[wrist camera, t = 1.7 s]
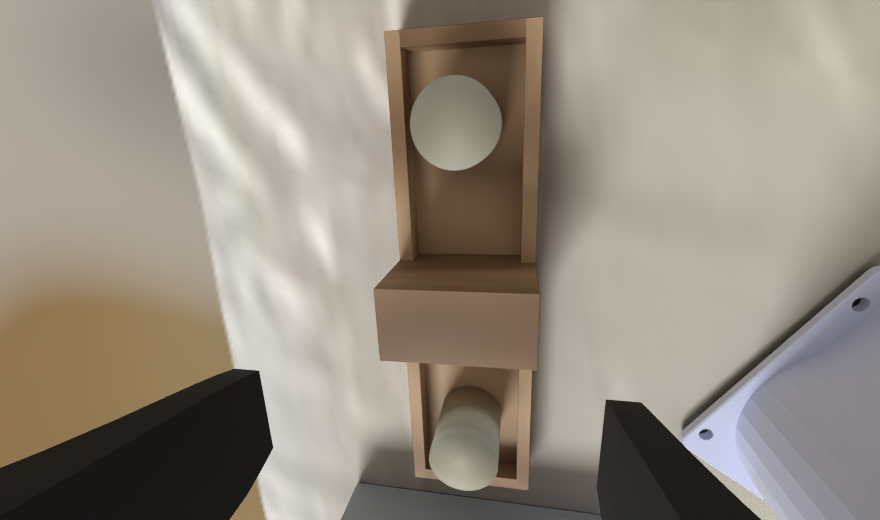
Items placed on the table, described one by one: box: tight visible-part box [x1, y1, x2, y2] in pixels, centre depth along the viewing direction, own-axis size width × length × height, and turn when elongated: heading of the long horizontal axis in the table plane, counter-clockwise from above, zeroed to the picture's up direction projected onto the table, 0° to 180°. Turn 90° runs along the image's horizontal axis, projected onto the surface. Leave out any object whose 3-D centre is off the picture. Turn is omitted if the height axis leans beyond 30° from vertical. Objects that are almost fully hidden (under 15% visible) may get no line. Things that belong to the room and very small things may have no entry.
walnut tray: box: [374, 17, 543, 491], centre depth 15 cm, size 18×5×5 cm, turn 2°
